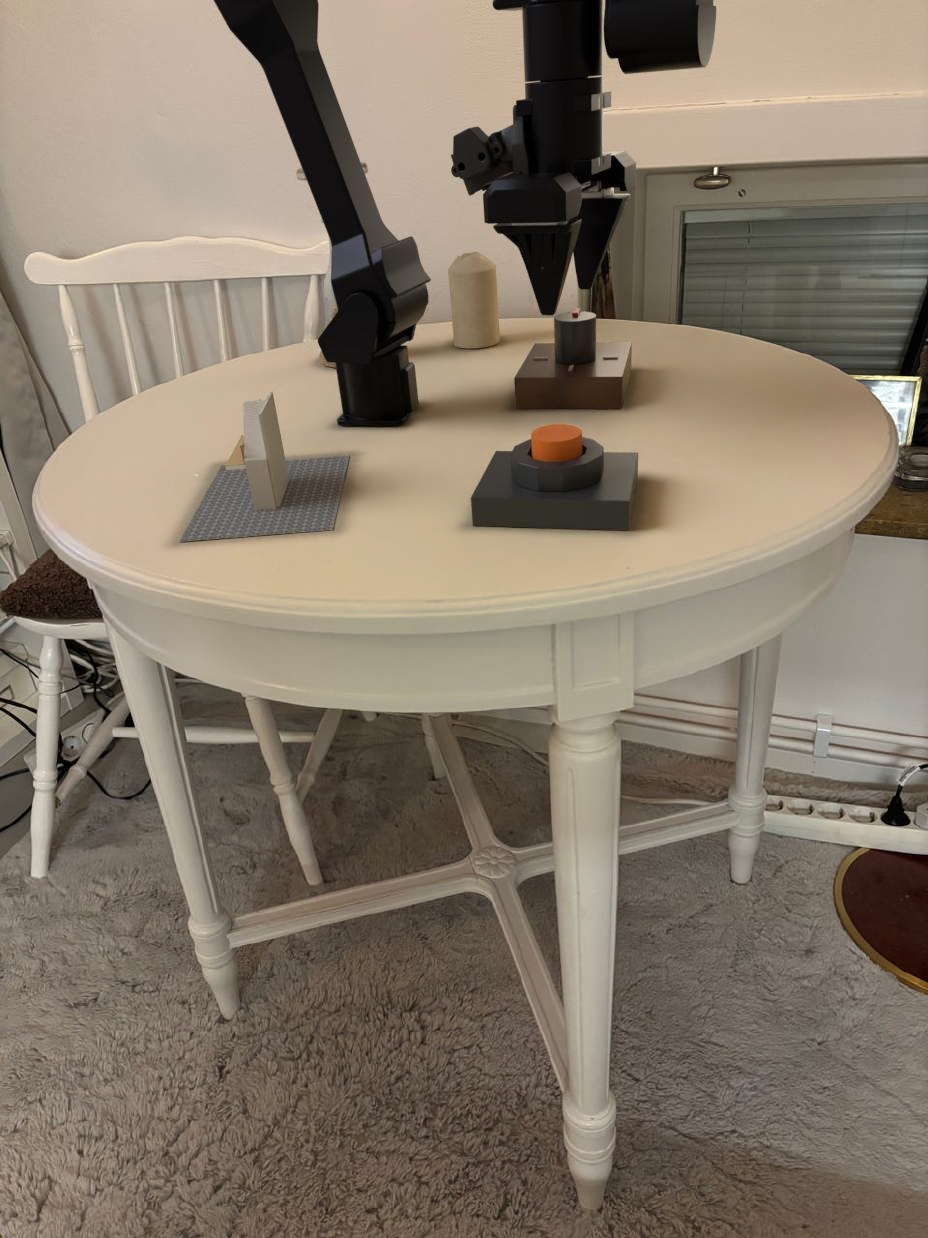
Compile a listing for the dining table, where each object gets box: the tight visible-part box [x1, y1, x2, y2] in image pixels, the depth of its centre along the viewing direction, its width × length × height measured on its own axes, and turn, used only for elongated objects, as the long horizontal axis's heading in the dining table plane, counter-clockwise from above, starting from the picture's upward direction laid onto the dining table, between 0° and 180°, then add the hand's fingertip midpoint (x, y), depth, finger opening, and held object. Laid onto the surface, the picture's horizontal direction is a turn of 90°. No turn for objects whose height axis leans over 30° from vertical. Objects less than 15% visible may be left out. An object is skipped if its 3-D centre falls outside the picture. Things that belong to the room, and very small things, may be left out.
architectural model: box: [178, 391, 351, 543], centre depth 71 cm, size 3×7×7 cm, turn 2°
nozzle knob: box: [553, 307, 597, 364], centre depth 87 cm, size 4×4×4 cm
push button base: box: [470, 436, 639, 531], centre depth 66 cm, size 11×9×4 cm
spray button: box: [530, 423, 583, 462], centre depth 65 cm, size 4×4×2 cm
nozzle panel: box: [513, 341, 633, 410], centre depth 89 cm, size 10×12×3 cm
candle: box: [447, 251, 501, 349], centre depth 105 cm, size 6×6×10 cm
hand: (567, 301), depth 74 cm, fingers open, 9 cm apart
